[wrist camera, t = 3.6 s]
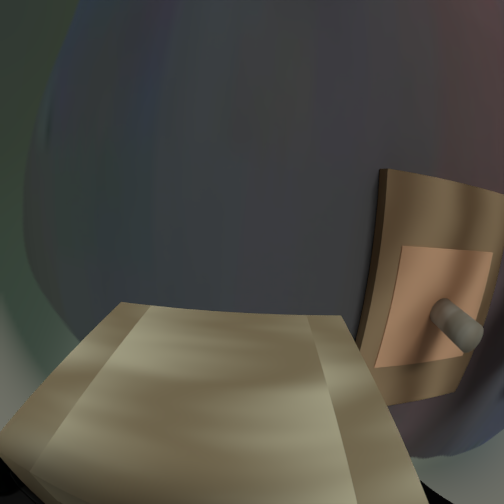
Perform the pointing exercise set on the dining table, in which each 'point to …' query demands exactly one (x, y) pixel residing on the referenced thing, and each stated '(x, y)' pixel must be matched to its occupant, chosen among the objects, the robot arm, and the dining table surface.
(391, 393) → the post board
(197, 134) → the dining table surface
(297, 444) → the collar
